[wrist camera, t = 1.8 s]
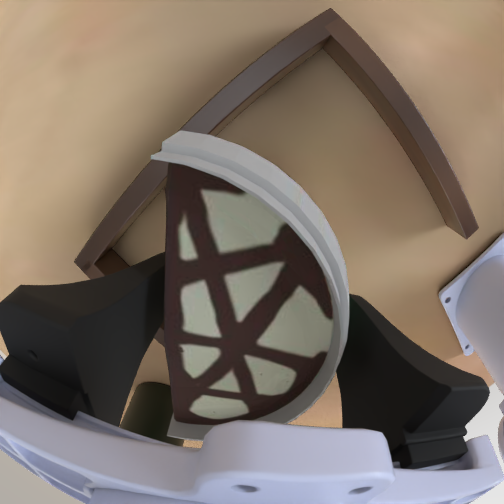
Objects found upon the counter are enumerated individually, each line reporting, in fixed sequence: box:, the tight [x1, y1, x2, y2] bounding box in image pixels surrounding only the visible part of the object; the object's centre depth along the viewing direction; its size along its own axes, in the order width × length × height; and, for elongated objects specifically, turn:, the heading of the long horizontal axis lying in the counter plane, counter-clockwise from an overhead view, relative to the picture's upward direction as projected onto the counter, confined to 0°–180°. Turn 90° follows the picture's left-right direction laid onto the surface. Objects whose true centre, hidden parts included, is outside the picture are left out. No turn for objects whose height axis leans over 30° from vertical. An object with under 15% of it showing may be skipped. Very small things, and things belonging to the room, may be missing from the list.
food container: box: [151, 130, 349, 441], centre depth 13 cm, size 12×6×10 cm, turn 172°
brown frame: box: [74, 8, 479, 347], centre depth 16 cm, size 15×20×2 cm
